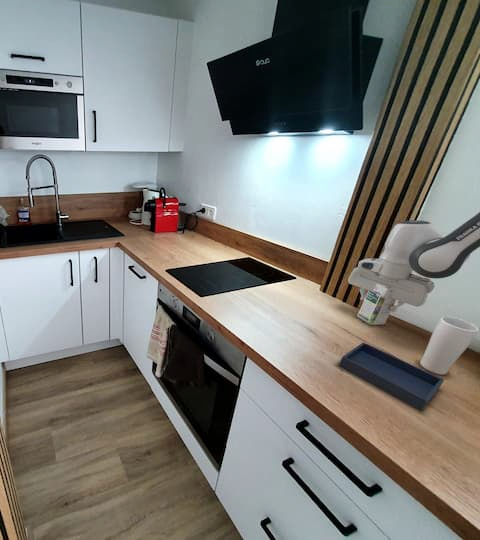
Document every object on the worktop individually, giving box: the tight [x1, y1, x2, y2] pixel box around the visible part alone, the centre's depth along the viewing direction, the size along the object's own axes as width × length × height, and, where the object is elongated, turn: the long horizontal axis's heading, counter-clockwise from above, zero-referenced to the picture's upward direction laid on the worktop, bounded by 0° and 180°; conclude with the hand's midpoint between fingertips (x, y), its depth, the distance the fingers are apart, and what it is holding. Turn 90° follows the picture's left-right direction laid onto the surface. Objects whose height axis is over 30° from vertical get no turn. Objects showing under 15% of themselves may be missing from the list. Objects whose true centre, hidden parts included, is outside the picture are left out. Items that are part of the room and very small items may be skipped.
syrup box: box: [356, 284, 397, 326], centre depth 99 cm, size 6×6×14 cm
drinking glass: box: [420, 316, 479, 375], centre depth 76 cm, size 7×7×15 cm
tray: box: [338, 341, 445, 412], centre depth 75 cm, size 17×13×3 cm
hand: (377, 305), depth 99 cm, fingers closed on syrup box, 7 cm apart
